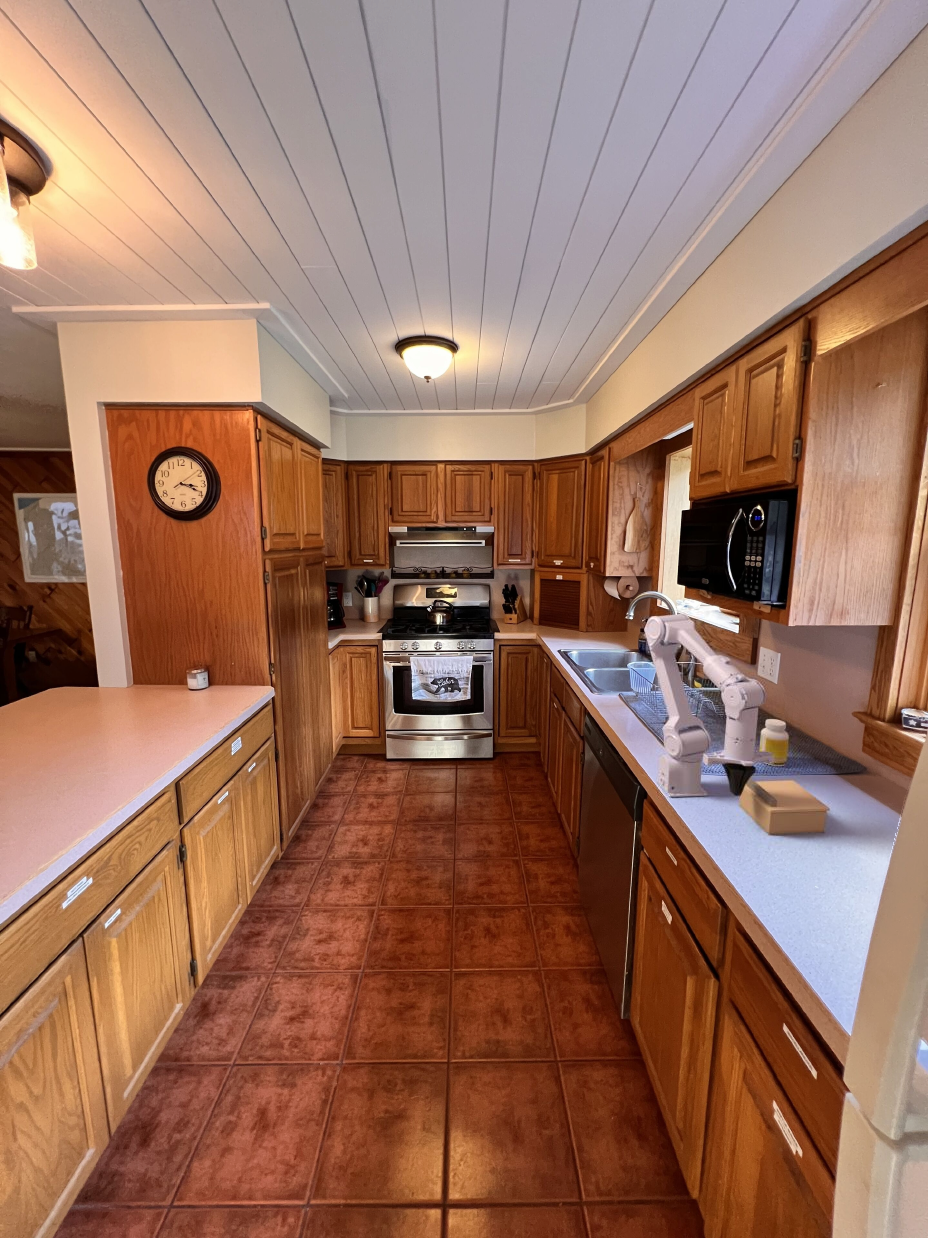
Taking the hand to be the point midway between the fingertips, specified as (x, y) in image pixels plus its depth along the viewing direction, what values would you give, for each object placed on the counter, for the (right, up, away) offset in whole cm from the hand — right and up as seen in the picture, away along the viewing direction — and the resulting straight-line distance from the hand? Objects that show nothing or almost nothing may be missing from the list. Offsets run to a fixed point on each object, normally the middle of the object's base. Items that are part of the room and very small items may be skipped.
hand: (735, 793), depth 109 cm
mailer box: (+11, -6, +1) cm, 12 cm away
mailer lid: (+11, -1, 0) cm, 10 cm away
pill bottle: (+25, -1, +27) cm, 37 cm away
